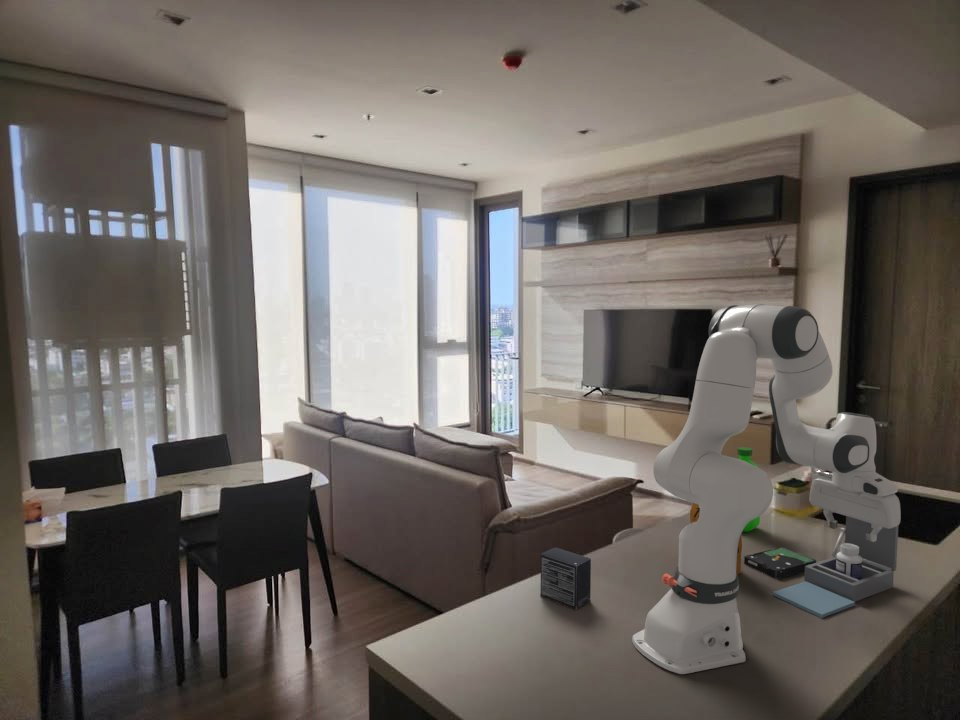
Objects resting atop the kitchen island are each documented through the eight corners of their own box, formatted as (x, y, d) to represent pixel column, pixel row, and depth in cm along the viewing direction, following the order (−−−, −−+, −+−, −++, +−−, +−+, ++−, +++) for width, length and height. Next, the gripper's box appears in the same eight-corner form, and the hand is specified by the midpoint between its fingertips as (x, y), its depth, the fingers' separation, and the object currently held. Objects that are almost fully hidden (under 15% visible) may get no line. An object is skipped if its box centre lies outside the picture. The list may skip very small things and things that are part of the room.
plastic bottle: (760, 525, 189) (762, 446, 187) (760, 537, 179) (763, 454, 177) (725, 520, 193) (727, 443, 191) (724, 532, 183) (726, 451, 181)
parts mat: (821, 618, 132) (821, 614, 132) (772, 595, 143) (773, 592, 143) (854, 605, 138) (854, 602, 138) (805, 584, 149) (805, 581, 149)
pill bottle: (861, 583, 149) (863, 544, 148) (861, 591, 145) (862, 552, 144) (835, 577, 152) (837, 540, 151) (834, 586, 147) (836, 547, 147)
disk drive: (776, 581, 152) (816, 570, 158) (777, 571, 151) (817, 559, 157) (743, 565, 161) (782, 555, 167) (743, 555, 161) (782, 545, 167)
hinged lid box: (852, 602, 139) (856, 517, 138) (800, 580, 151) (803, 501, 149) (895, 586, 147) (899, 506, 145) (842, 566, 159) (845, 491, 157)
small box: (592, 601, 141) (592, 557, 140) (576, 611, 136) (576, 566, 136) (555, 587, 148) (555, 545, 148) (539, 596, 144) (539, 553, 143)
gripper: (804, 470, 154) (803, 523, 155) (889, 491, 136) (887, 551, 137) (820, 466, 157) (818, 518, 158) (905, 487, 139) (903, 545, 140)
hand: (851, 534), depth 147 cm, fingers open, 8 cm apart
